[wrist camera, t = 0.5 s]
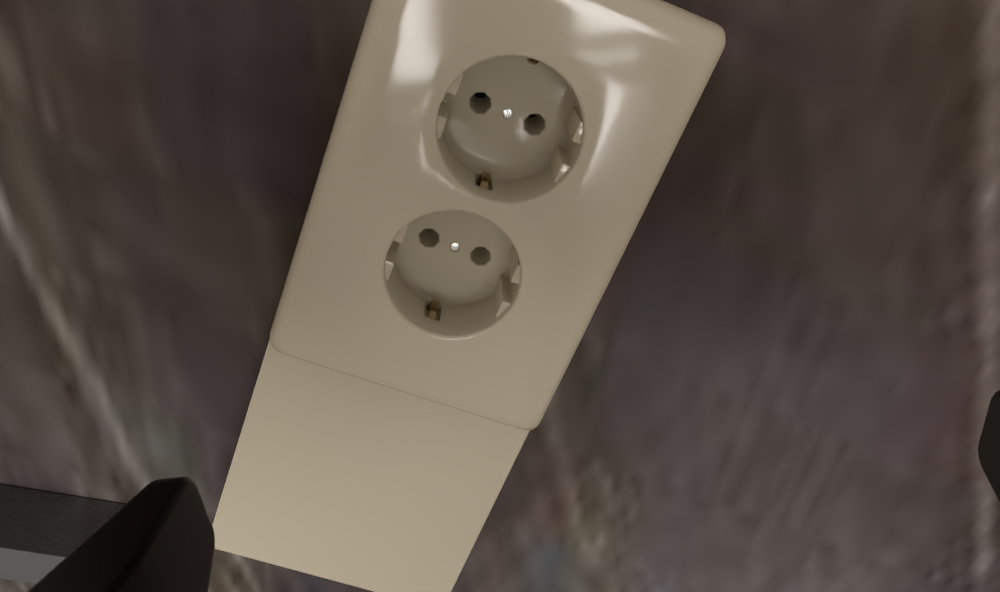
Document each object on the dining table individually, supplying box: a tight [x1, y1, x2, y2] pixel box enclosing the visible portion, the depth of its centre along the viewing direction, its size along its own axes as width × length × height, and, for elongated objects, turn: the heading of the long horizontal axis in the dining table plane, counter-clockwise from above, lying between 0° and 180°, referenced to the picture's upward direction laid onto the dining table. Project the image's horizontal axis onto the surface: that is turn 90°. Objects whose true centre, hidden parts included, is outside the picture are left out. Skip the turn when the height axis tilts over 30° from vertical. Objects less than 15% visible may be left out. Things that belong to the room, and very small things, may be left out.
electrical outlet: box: [212, 0, 726, 592], centre depth 21 cm, size 7×4×18 cm
